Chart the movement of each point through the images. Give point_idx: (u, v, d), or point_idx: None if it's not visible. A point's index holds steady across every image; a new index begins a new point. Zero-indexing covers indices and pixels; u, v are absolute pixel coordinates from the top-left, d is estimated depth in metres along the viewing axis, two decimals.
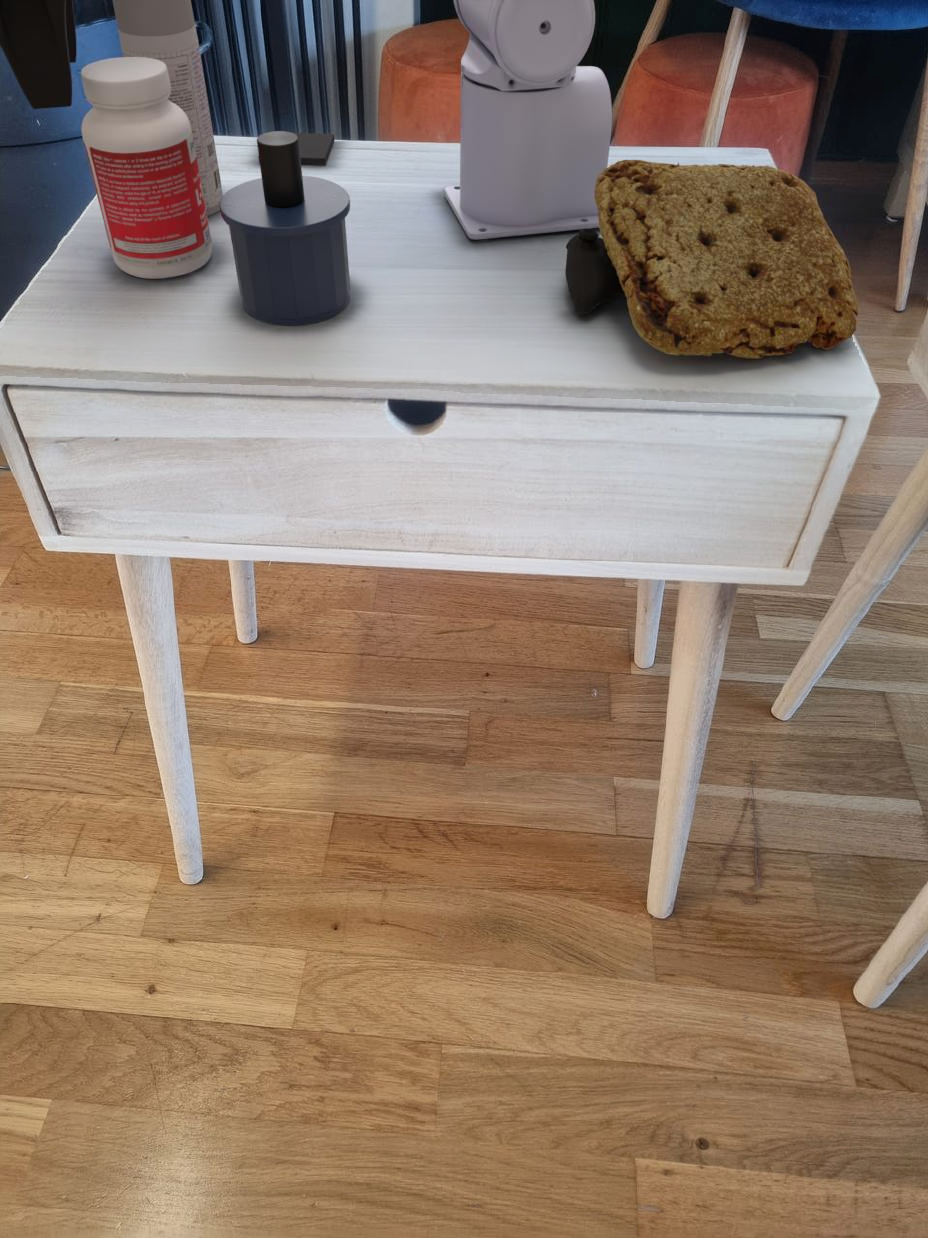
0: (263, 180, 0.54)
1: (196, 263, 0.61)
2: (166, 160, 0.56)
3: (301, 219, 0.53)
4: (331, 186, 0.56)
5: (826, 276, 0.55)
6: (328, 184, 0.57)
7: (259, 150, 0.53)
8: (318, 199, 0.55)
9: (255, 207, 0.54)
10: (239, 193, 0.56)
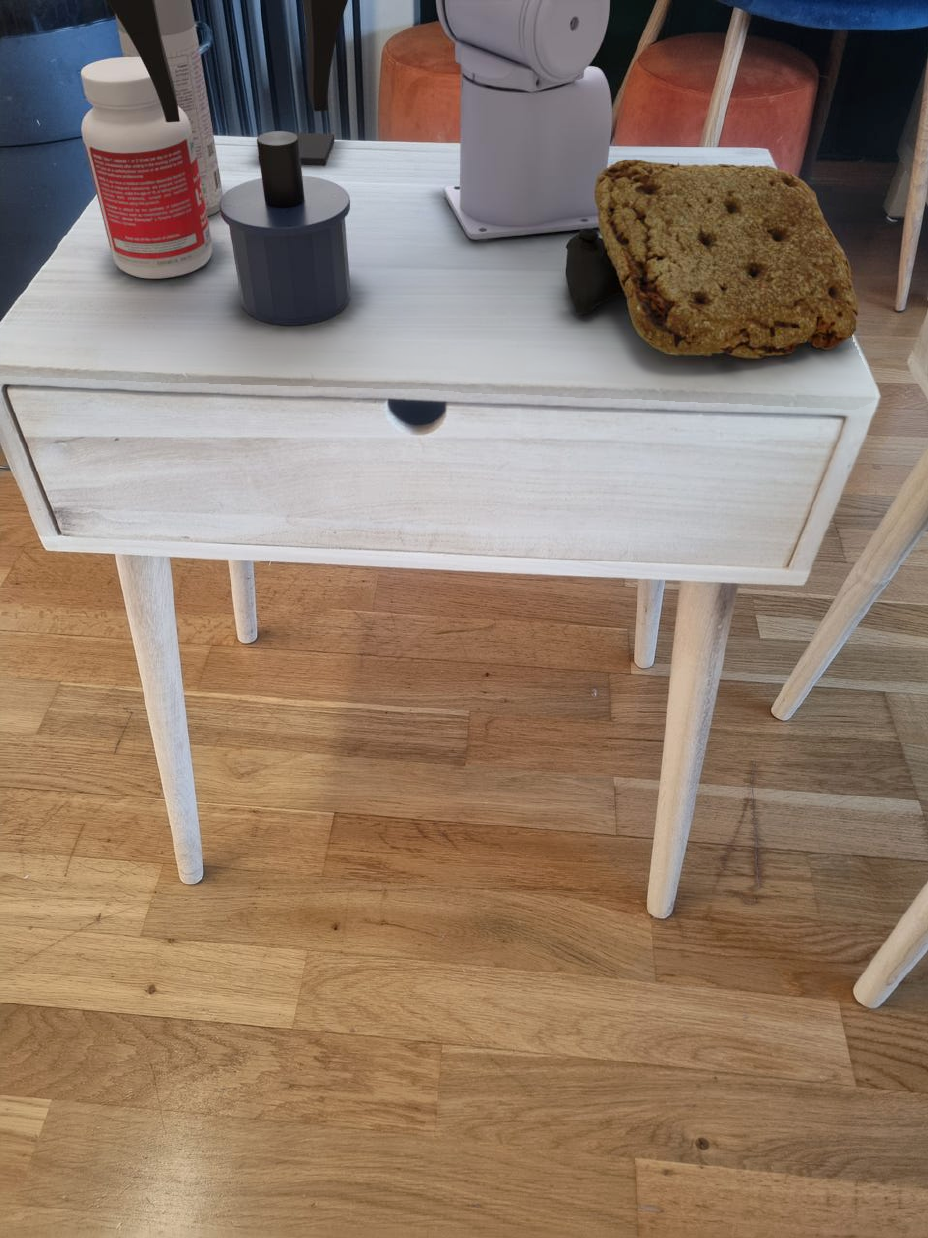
0: (263, 180, 0.54)
1: (195, 263, 0.61)
2: (166, 160, 0.56)
3: (301, 219, 0.53)
4: (331, 186, 0.56)
5: (826, 276, 0.55)
6: (328, 184, 0.57)
7: (259, 150, 0.53)
8: (318, 199, 0.55)
9: (255, 207, 0.54)
10: (239, 193, 0.56)
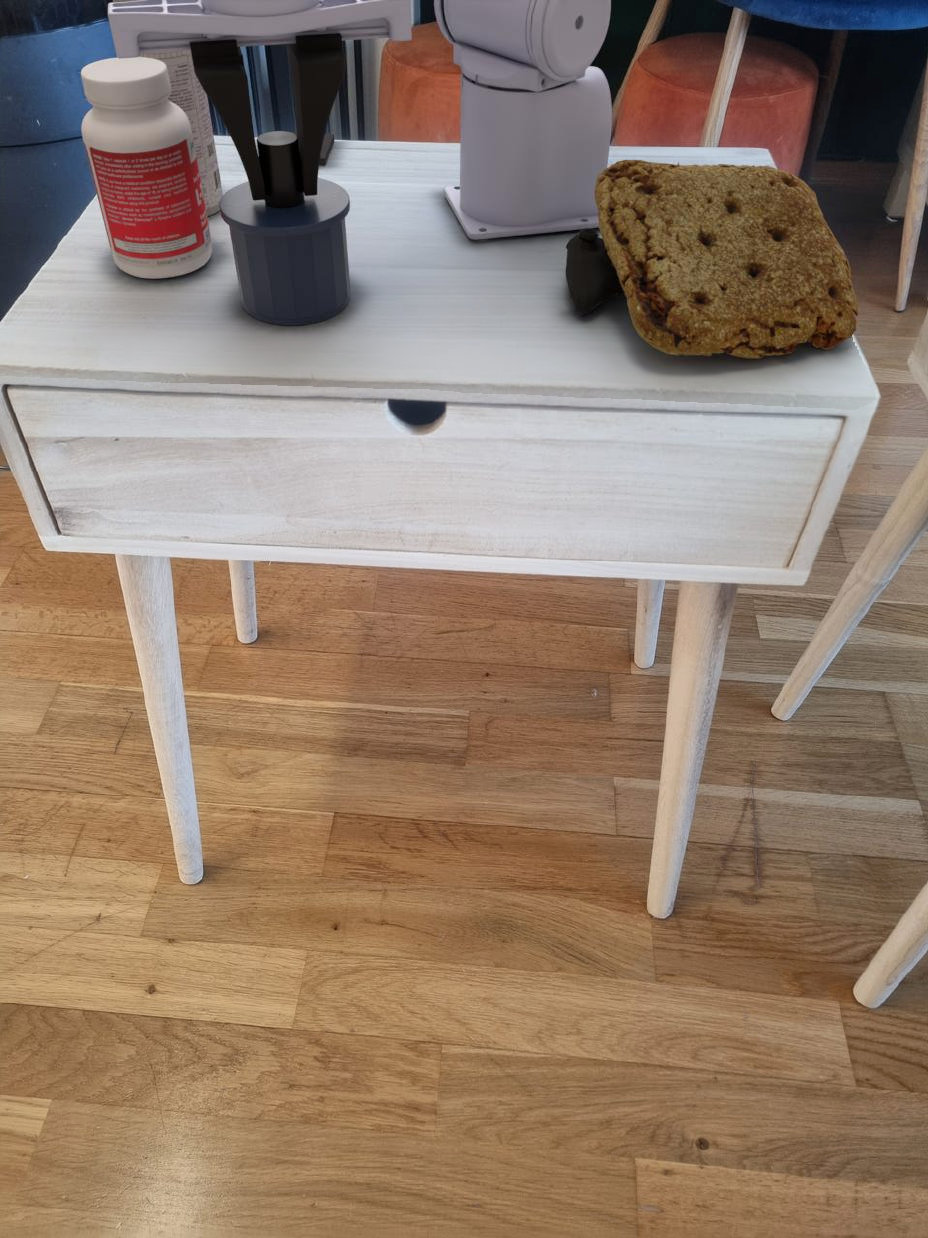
0: None
1: (195, 263, 0.61)
2: (166, 160, 0.56)
3: (300, 219, 0.53)
4: (331, 186, 0.56)
5: (826, 276, 0.55)
6: (328, 184, 0.57)
7: (259, 150, 0.53)
8: (318, 199, 0.55)
9: (254, 208, 0.54)
10: (239, 193, 0.56)
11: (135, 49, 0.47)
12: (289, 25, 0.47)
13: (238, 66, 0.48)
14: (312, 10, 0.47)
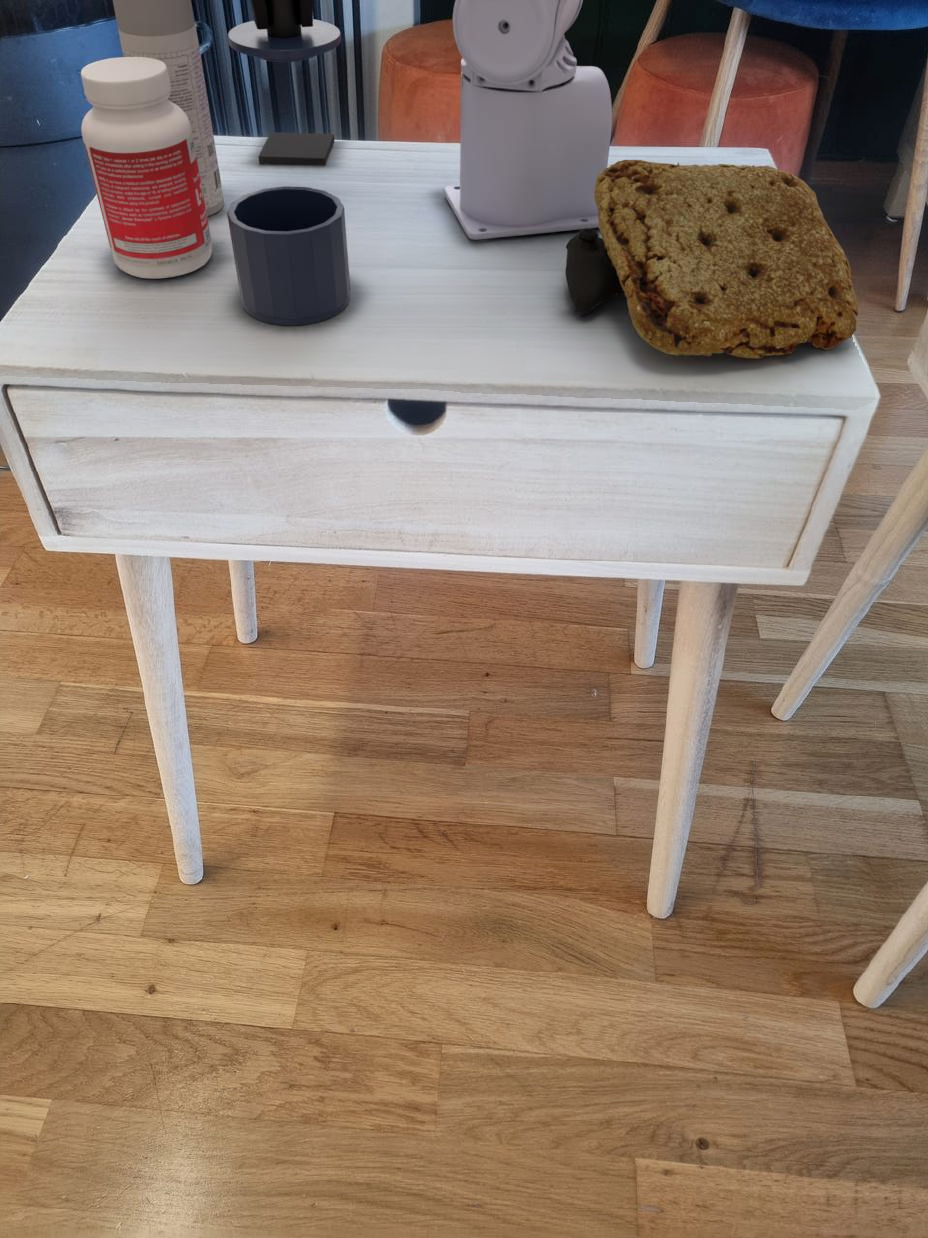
0: None
1: (195, 263, 0.61)
2: (166, 160, 0.56)
3: (298, 44, 0.62)
4: (324, 24, 0.65)
5: (826, 276, 0.55)
6: (322, 23, 0.65)
7: None
8: (313, 32, 0.64)
9: (258, 37, 0.63)
10: (245, 28, 0.64)
11: None
12: None
13: None
14: None
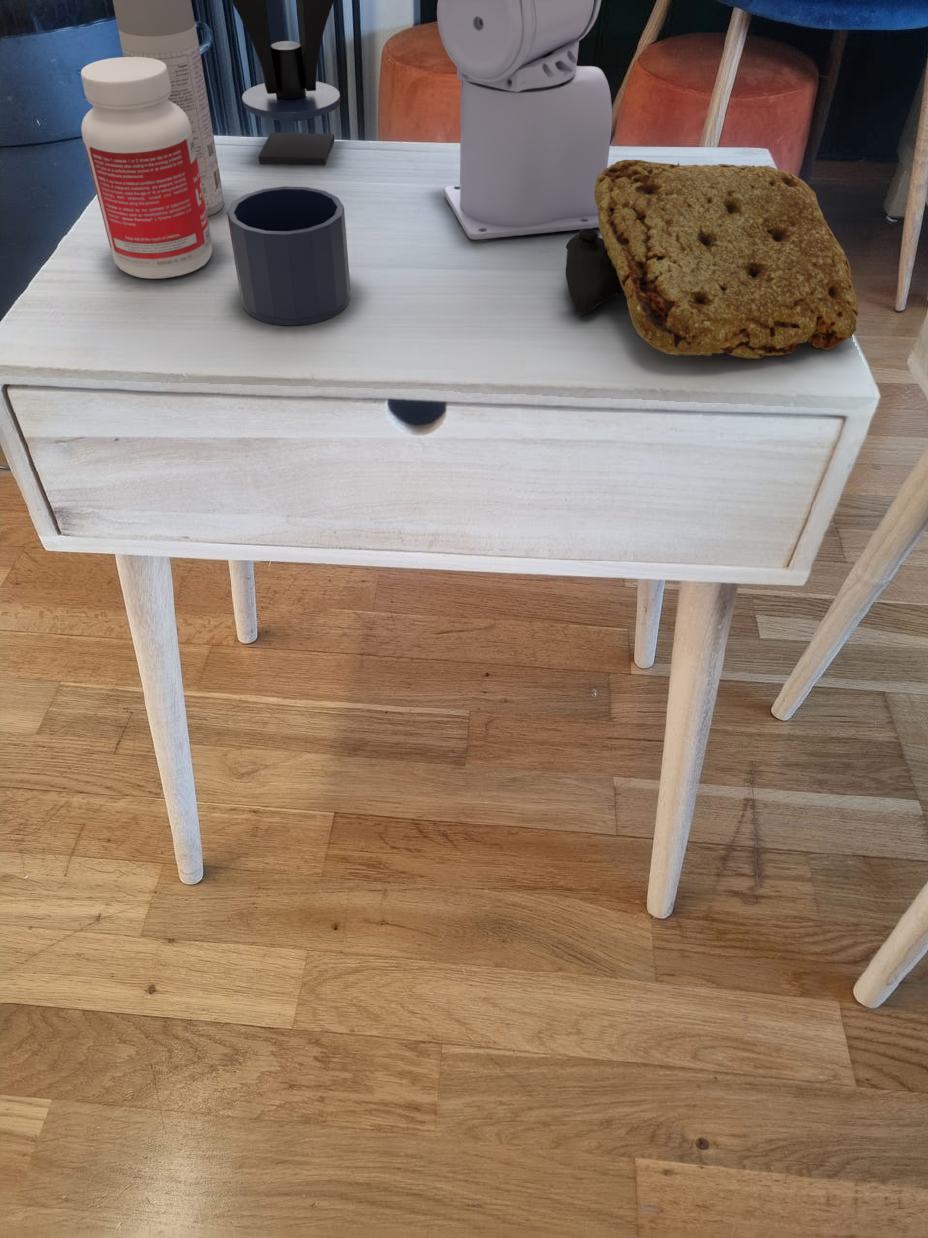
0: None
1: (195, 263, 0.61)
2: (166, 160, 0.56)
3: (303, 106, 0.71)
4: (326, 86, 0.74)
5: (826, 276, 0.55)
6: (324, 85, 0.74)
7: (272, 54, 0.70)
8: (316, 94, 0.73)
9: (268, 99, 0.72)
10: (256, 91, 0.73)
11: None
12: None
13: None
14: None
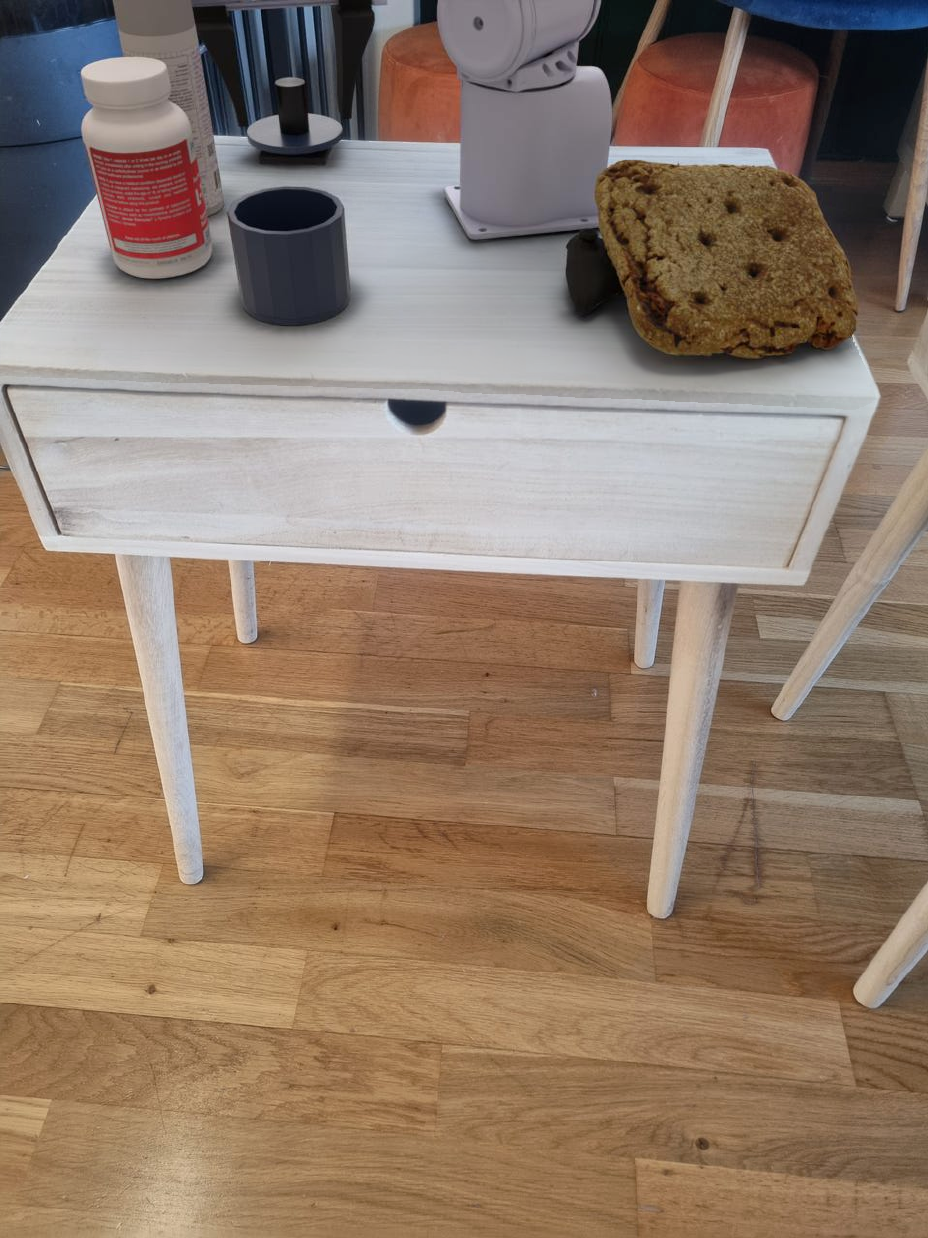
0: (279, 113, 0.73)
1: (195, 263, 0.61)
2: (166, 160, 0.56)
3: (307, 141, 0.73)
4: (329, 120, 0.76)
5: (826, 276, 0.55)
6: (327, 119, 0.76)
7: (276, 90, 0.72)
8: (319, 129, 0.75)
9: (273, 134, 0.74)
10: (261, 125, 0.75)
11: None
12: None
13: (227, 24, 0.67)
14: None
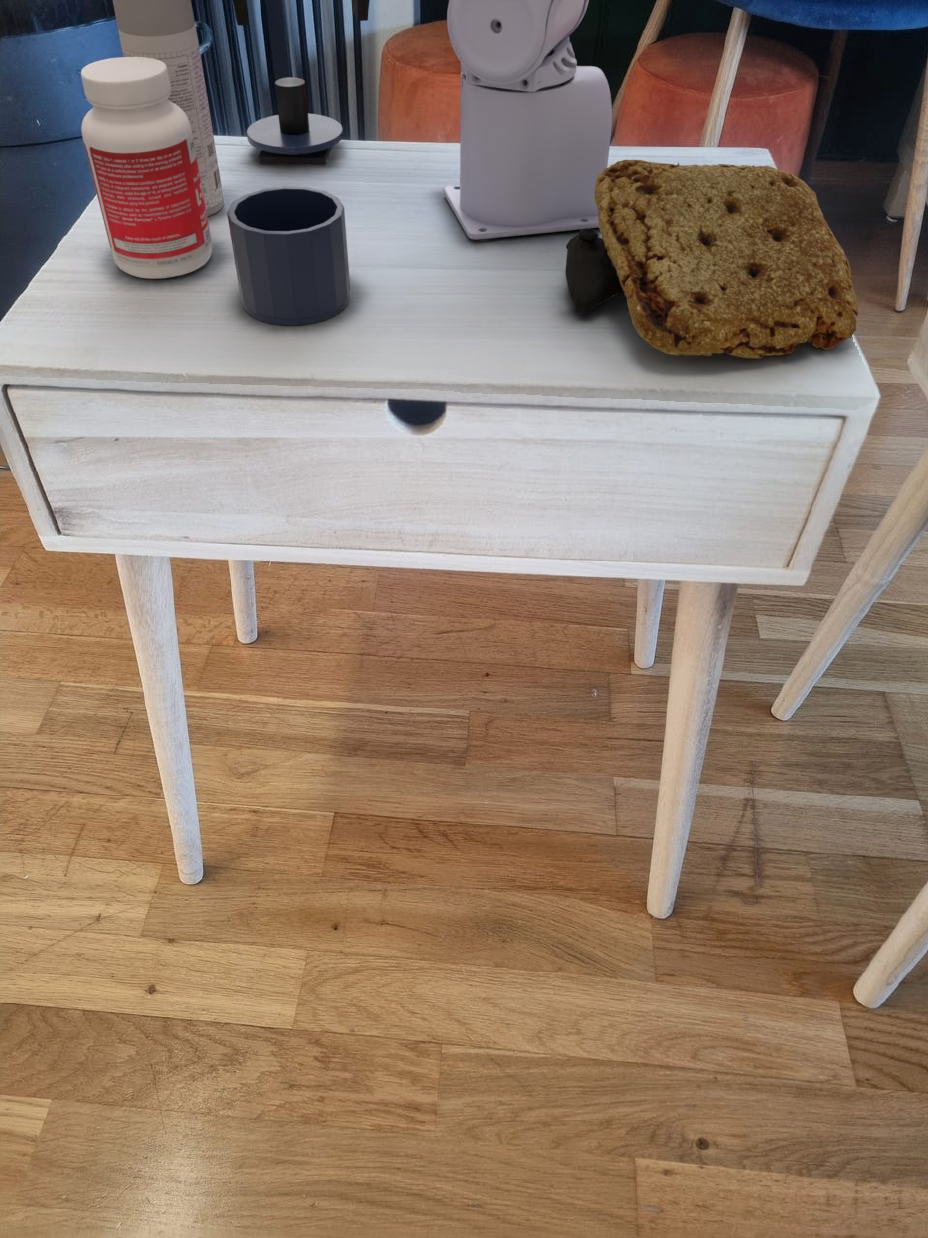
0: (279, 113, 0.73)
1: (195, 263, 0.61)
2: (166, 160, 0.56)
3: (307, 141, 0.73)
4: (329, 120, 0.76)
5: (826, 276, 0.55)
6: (327, 119, 0.76)
7: (276, 90, 0.72)
8: (319, 129, 0.75)
9: (273, 134, 0.74)
10: (261, 125, 0.75)
11: None
12: None
13: None
14: None
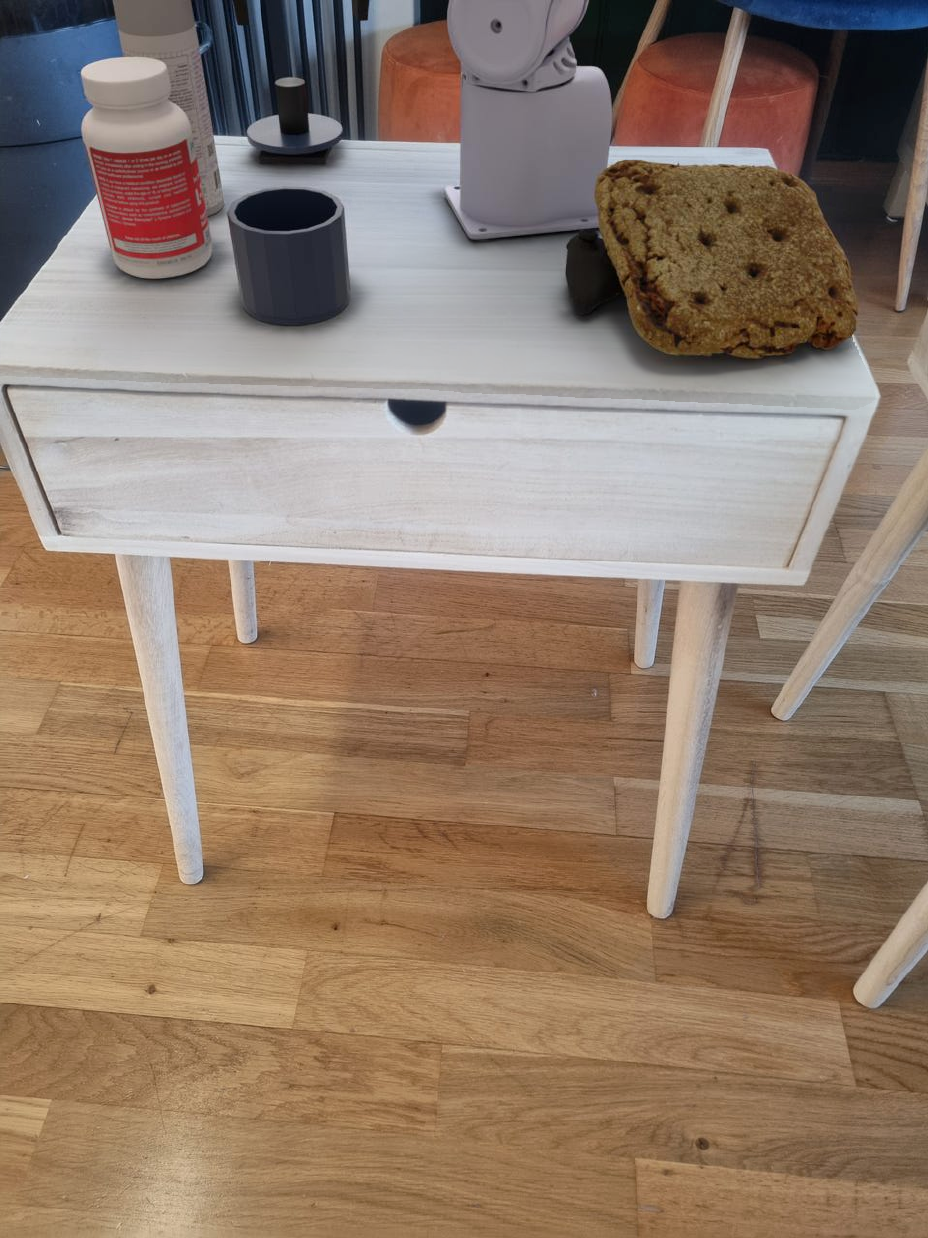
0: (279, 113, 0.73)
1: (195, 263, 0.61)
2: (166, 160, 0.56)
3: (307, 141, 0.73)
4: (329, 120, 0.76)
5: (826, 276, 0.55)
6: (327, 119, 0.76)
7: (276, 90, 0.72)
8: (319, 129, 0.75)
9: (273, 134, 0.74)
10: (261, 125, 0.75)
11: None
12: None
13: None
14: None
